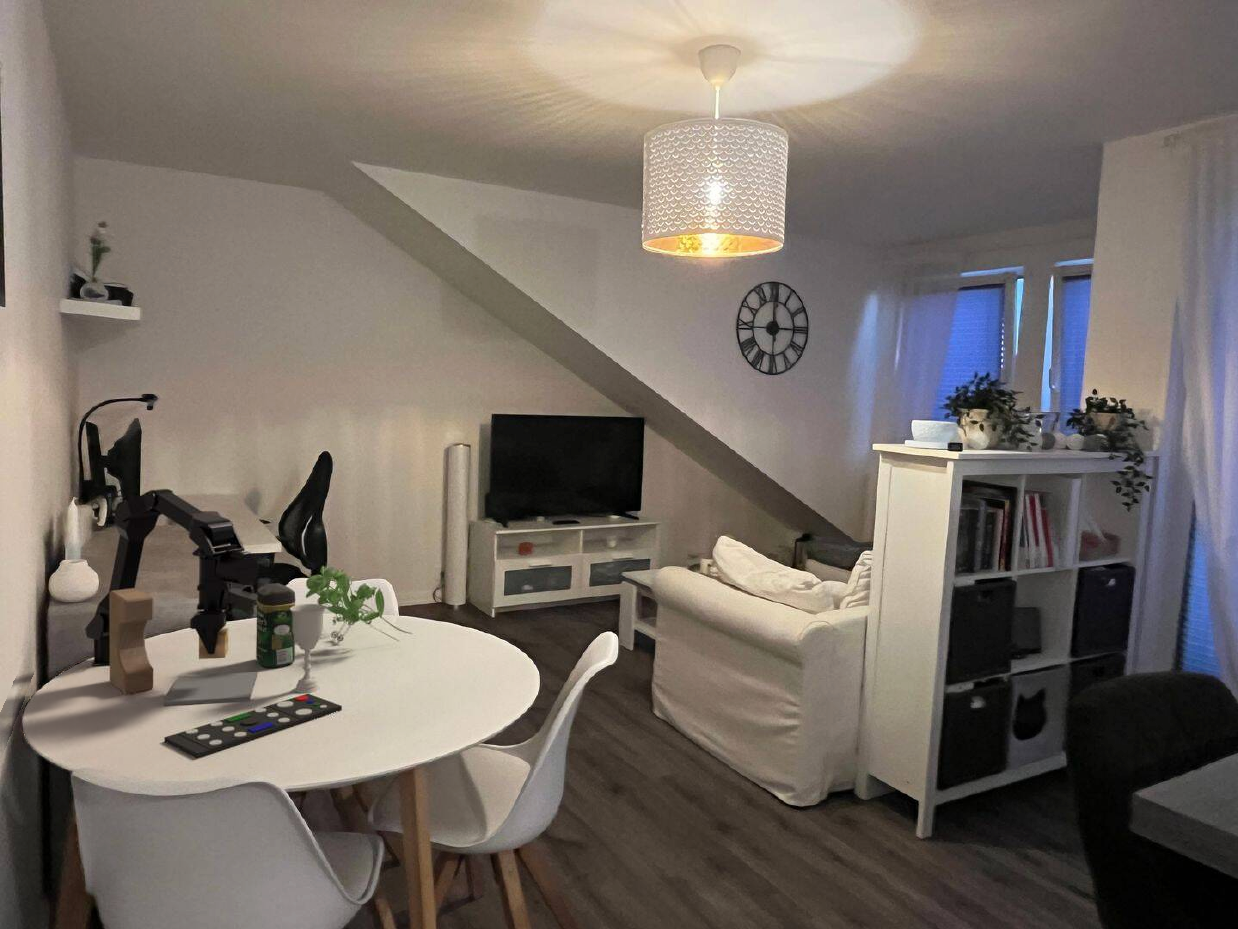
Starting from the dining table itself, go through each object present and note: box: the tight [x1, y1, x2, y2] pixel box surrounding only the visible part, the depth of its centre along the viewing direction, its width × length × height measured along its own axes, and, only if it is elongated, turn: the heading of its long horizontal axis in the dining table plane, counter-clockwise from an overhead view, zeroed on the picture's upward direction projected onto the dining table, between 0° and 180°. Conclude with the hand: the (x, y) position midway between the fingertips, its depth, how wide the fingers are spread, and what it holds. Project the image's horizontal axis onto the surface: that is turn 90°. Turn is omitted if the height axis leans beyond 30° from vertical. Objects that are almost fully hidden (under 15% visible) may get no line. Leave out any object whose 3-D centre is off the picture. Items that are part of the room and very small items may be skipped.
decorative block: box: [108, 587, 154, 695], centre depth 181 cm, size 11×6×20 cm, turn 45°
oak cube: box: [198, 627, 229, 660], centre depth 181 cm, size 5×5×5 cm
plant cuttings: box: [305, 565, 413, 644], centre depth 221 cm, size 35×17×22 cm
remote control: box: [163, 693, 343, 760], centre depth 164 cm, size 11×30×2 cm, turn 146°
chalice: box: [290, 603, 327, 694], centre depth 184 cm, size 7×7×18 cm
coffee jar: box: [255, 582, 296, 668], centre depth 200 cm, size 10×8×19 cm
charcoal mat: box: [163, 671, 258, 707], centre depth 182 cm, size 16×16×1 cm
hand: (213, 650), depth 181 cm, fingers closed on oak cube, 5 cm apart
